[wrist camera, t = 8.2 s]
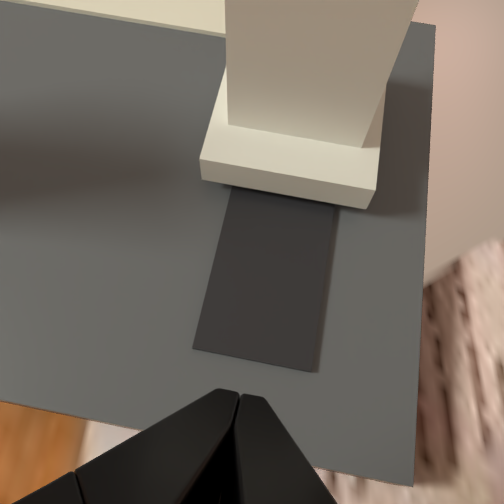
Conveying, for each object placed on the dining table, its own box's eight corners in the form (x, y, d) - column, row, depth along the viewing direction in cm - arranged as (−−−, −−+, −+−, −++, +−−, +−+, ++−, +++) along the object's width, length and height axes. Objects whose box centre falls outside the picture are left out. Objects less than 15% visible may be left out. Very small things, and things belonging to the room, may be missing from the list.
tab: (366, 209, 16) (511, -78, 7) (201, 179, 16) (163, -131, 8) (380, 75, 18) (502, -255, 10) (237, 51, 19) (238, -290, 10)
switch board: (396, 485, 14) (417, 488, 13) (-390, 318, 16) (-464, 301, 14) (423, 52, 22) (439, 18, 20) (-116, -36, 23) (-143, -76, 21)
